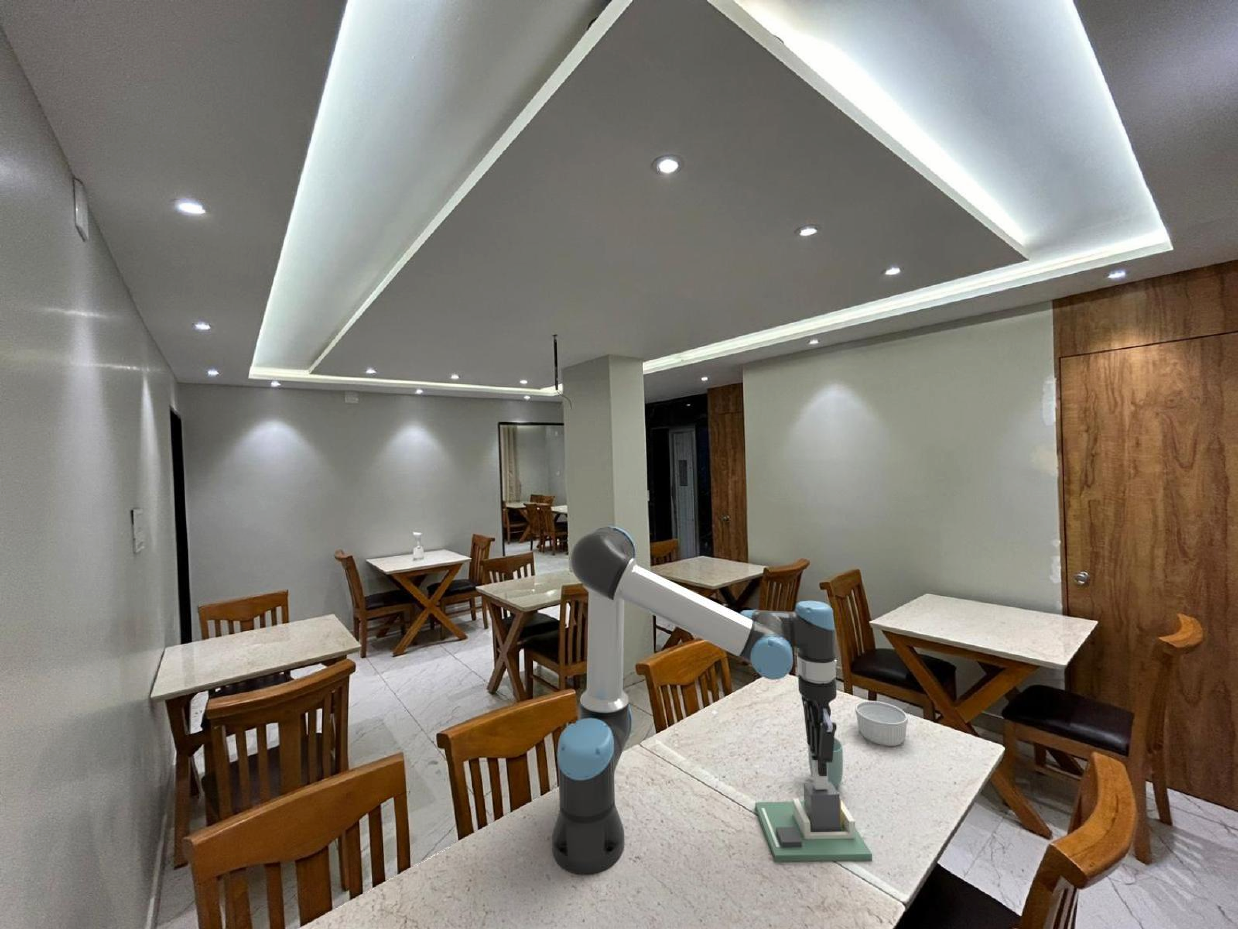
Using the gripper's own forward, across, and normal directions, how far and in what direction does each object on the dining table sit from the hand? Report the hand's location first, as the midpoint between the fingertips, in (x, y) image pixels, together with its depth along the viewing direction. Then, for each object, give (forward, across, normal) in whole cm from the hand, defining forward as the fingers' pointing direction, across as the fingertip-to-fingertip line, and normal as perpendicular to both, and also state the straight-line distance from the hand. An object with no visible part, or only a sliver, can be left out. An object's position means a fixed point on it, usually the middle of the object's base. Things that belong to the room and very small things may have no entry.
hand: (820, 787), depth 102 cm
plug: (+8, 0, 0) cm, 8 cm away
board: (+10, 0, +3) cm, 10 cm away
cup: (+10, +16, -7) cm, 20 cm away
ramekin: (+10, +36, -31) cm, 48 cm away
